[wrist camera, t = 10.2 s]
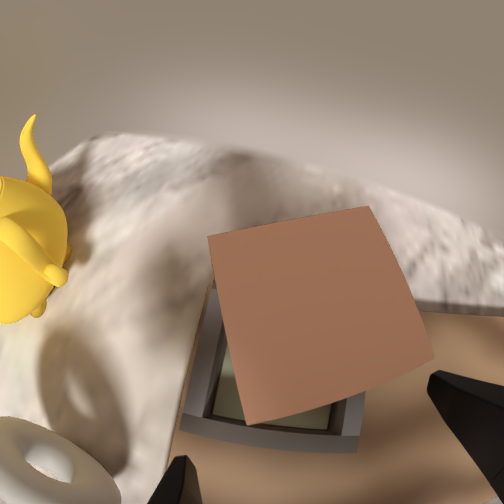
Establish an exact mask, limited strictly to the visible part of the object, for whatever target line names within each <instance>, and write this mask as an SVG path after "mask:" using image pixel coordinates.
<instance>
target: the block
mask: <svg viewBox="0 0 504 504" xmlns="http://www.w3.org/2000/svg"><path fill="white" fill-rule="evenodd" d="M208 242H209V248H210V254H211V260H212V265H213V271H214V276H215V282H216V287H217V292H218V297H219V303H220V308H221V313H222V318H223V323H224V328H225V332H226V337H227V342H228V347H229V351H230V356H231V360H232V365H233V369H234V374H235V378H236V383H237V387H238V391H239V396H240V400H241V404H242V408H243V412H244V416H245V420H246V424H247V425H252V424H257V423H262V422H266V421H271V420H275V419H279V418H283V417H287V416H291V415H294V414H298V413H301V412H305V411H308V410H312V409H315V408H318V407H321V406H324V405H328V404H331V403H334V402H336V401H339V400H342V399H345V398H348V397H350V396H353V395H356V394H358V393H361V392H364V391H366V390H369V389H371V388H374V387H376V386H378V385H381V384H383V383H385V382H388V381H390V380H392V379H394V378H397V377H399V376H401V375H403V374H405V373H407V372H409V371H411V370H413V369H415V368H417V367H419V366H421V365H423V364H425V363H427V362H429V361H431V360H433V359H435V355H434V352H433V349H432V346H431V343H430V340H429V338H428V335H427V332H426V329H425V326H424V324H423V321H422V318H421V316H420V313H419V311H418V308H417V306H416V303H415V301H414V298H413V296H412V294H411V291H410V289H409V286H408V284H407V282H406V280H405V277H404V275H403V273H402V271H401V268H400V266H399V264H398V262H397V260H396V258H395V256H394V254H393V252H392V249H391V247H390V245H389V243H388V241H387V239H386V237H385V235H384V234H383V232H382V230H381V228H380V226H379V224H378V222H377V220H376V218H375V216H374V215H373V213H372V211H371V209H370V207H369V206H365V207H359V208H353V209H348V210H342V211H336V212H331V213H325V214H319V215H314V216H308V217H303V218H298V219H292V220H287V221H282V222H276V223H271V224H266V225H261V226H256V227H251V228H245V229H240V230H235V231H230V232H226V233H221V234H216V235H211V236H208Z"/></svg>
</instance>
